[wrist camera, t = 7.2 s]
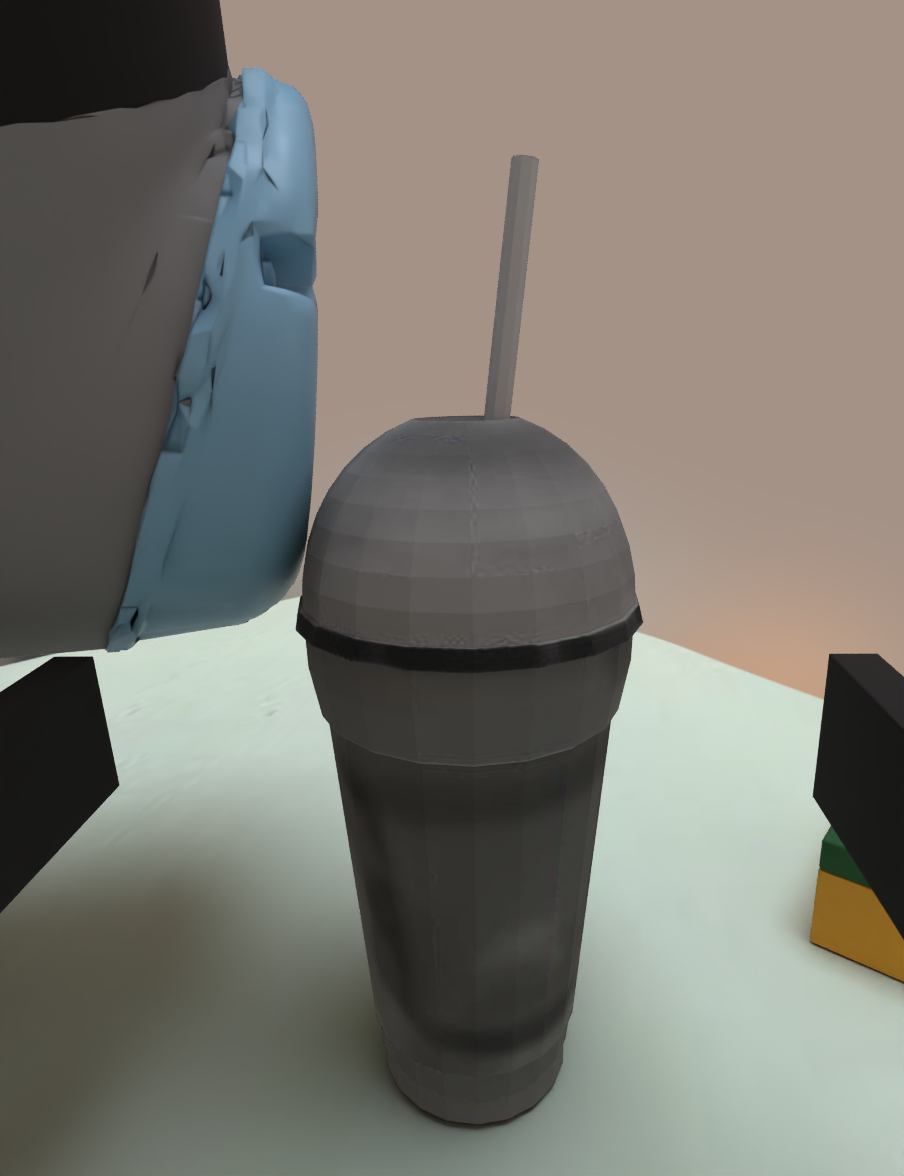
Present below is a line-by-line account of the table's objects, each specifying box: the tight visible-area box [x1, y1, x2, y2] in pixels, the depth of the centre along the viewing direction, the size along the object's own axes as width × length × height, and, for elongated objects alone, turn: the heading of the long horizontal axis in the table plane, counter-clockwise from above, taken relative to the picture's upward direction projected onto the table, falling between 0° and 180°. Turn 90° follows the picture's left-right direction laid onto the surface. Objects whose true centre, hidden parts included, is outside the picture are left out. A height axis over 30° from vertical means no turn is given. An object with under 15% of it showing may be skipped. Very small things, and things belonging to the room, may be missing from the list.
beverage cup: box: [296, 155, 643, 1125], centre depth 16 cm, size 7×7×20 cm
